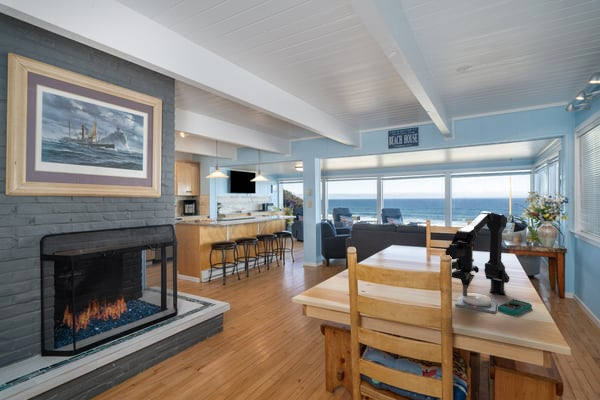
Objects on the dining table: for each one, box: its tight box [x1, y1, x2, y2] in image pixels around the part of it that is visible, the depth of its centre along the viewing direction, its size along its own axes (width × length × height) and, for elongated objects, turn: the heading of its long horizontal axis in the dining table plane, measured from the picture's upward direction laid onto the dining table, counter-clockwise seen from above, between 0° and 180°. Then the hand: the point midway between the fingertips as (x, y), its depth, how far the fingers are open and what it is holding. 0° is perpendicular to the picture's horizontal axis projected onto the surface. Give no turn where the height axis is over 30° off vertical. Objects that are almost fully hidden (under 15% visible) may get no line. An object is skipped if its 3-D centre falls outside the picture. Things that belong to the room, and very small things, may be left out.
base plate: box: [454, 293, 498, 315], centre depth 132 cm, size 16×15×1 cm
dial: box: [462, 284, 492, 306], centre depth 132 cm, size 11×11×7 cm
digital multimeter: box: [497, 298, 533, 317], centre depth 126 cm, size 7×15×3 cm, turn 121°
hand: (465, 289), depth 137 cm, fingers closed
